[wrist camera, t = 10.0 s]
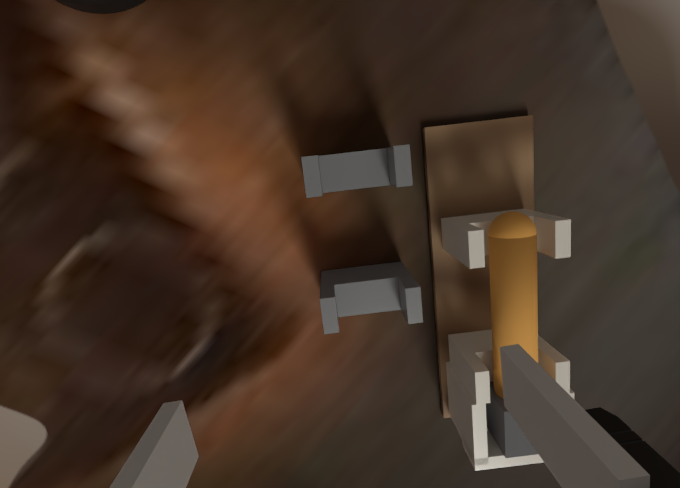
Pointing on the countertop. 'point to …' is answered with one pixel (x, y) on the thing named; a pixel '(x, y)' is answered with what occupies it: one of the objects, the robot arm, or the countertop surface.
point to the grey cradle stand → (373, 280)
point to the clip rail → (471, 213)
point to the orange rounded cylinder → (511, 316)
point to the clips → (476, 347)
